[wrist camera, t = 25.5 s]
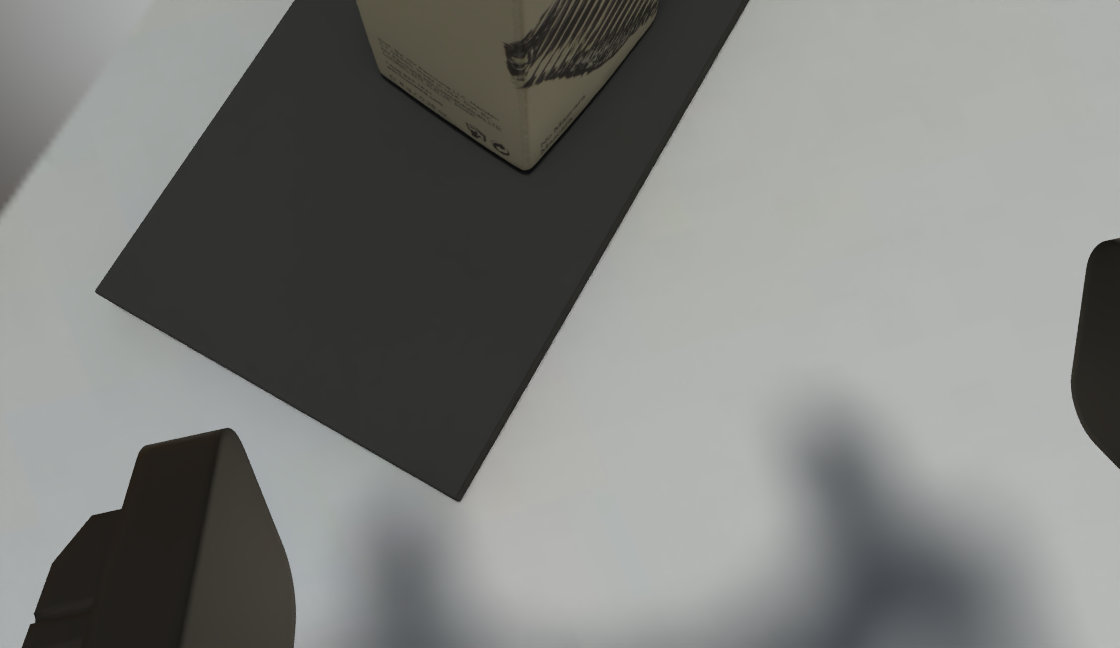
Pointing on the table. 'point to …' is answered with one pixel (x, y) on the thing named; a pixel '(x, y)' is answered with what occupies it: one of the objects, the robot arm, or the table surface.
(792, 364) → the table surface
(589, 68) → the box
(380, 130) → the scrub mat
